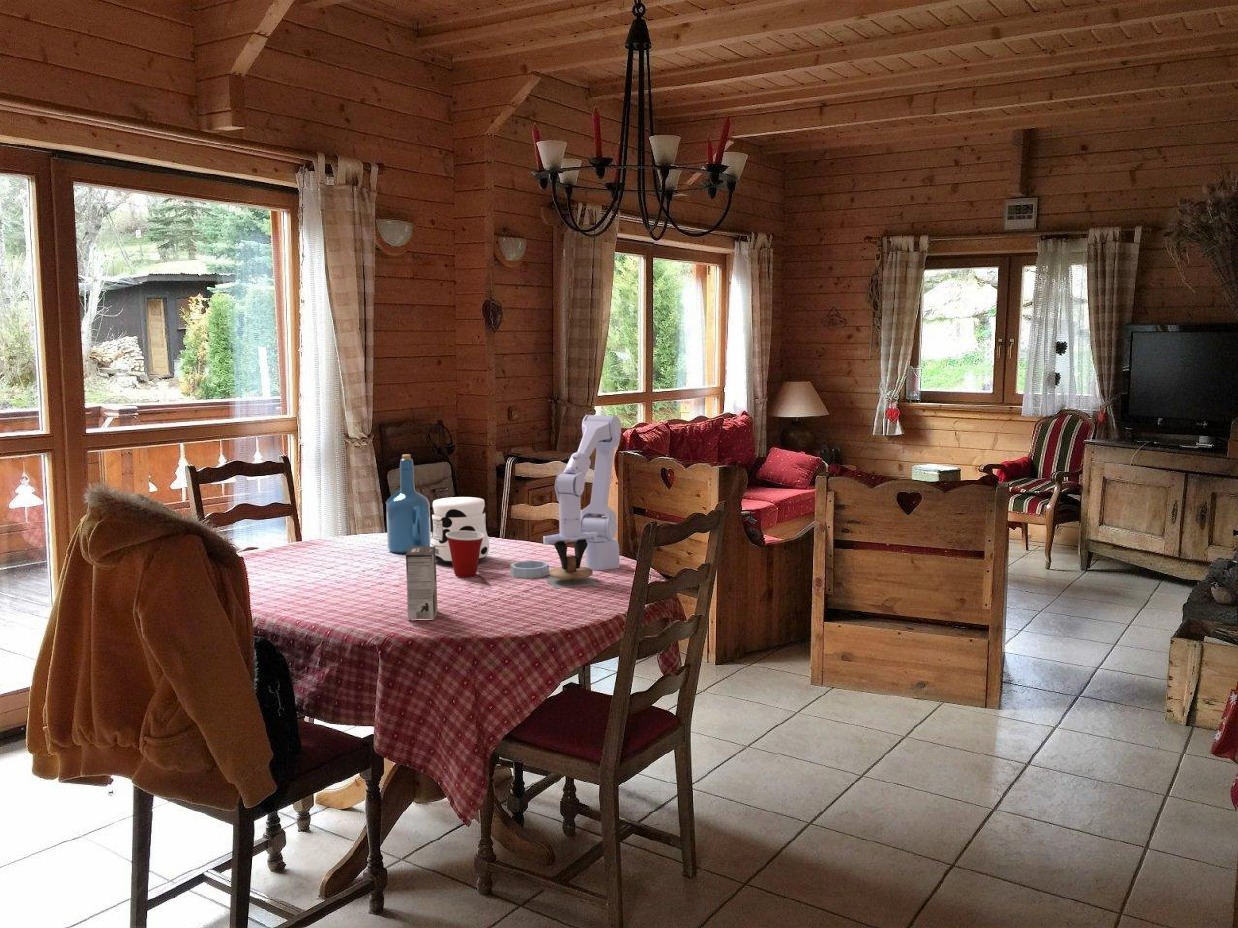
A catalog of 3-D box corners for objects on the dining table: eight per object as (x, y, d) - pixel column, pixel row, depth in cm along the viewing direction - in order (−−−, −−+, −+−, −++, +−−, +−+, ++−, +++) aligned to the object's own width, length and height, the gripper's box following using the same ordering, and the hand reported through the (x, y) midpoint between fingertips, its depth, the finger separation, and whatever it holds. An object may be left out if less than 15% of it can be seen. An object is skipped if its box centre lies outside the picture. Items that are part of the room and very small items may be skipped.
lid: (584, 567, 281) (584, 550, 280) (598, 576, 270) (598, 559, 269) (544, 571, 277) (543, 553, 276) (556, 580, 266) (556, 562, 265)
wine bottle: (437, 546, 324) (434, 452, 320) (420, 555, 311) (417, 457, 307) (398, 544, 327) (394, 451, 323) (379, 553, 314) (375, 456, 310)
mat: (585, 577, 281) (585, 574, 281) (599, 587, 270) (599, 584, 270) (543, 581, 277) (543, 578, 277) (555, 592, 266) (555, 588, 266)
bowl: (542, 571, 289) (542, 559, 288) (552, 579, 280) (552, 566, 279) (507, 574, 286) (507, 562, 285) (516, 582, 276) (516, 570, 276)
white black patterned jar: (496, 555, 310) (495, 496, 308) (479, 568, 294) (477, 506, 291) (442, 553, 314) (440, 495, 311) (421, 566, 297) (419, 505, 294)
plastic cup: (478, 580, 279) (477, 537, 277) (440, 579, 281) (439, 536, 279) (491, 571, 289) (490, 530, 288) (455, 570, 292) (453, 528, 290)
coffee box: (411, 611, 249) (409, 546, 247) (438, 610, 249) (436, 545, 247) (407, 621, 240) (404, 554, 238) (434, 620, 240) (432, 553, 238)
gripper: (547, 523, 265) (548, 574, 267) (600, 519, 270) (601, 569, 272) (540, 518, 272) (541, 568, 274) (592, 514, 277) (593, 563, 278)
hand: (570, 568), depth 273 cm, fingers closed on lid, 3 cm apart
